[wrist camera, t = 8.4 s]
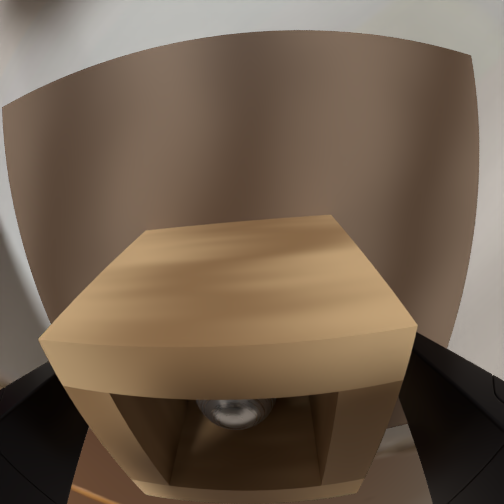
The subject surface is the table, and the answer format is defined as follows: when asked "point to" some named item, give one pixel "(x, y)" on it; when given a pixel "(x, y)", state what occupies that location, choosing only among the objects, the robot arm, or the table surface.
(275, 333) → the oak collar
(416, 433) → the robot arm
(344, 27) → the table surface
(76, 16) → the table surface
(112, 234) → the pin board
